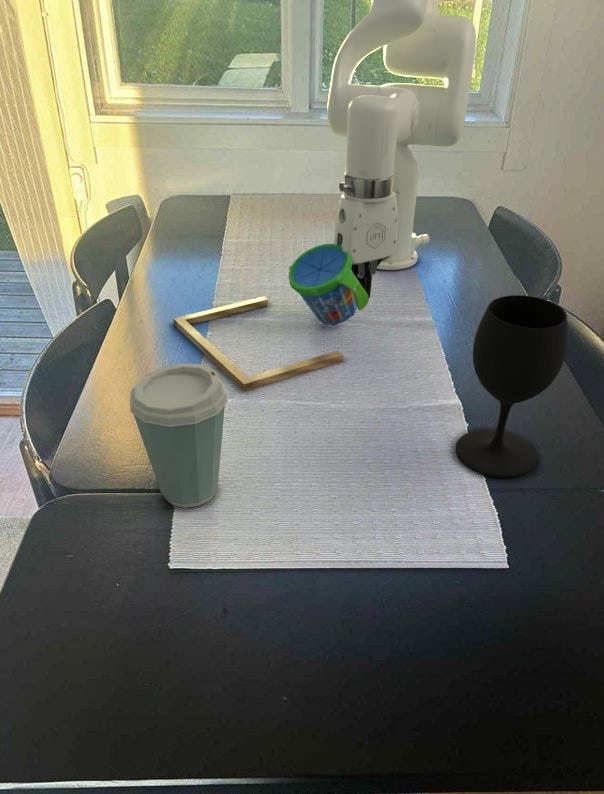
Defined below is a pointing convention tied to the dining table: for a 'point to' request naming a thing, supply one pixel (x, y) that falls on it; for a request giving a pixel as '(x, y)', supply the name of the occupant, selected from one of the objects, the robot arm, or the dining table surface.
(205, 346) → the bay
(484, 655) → the dining table surface
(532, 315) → the wine glass
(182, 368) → the disposable coffee cup
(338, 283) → the snack cup
